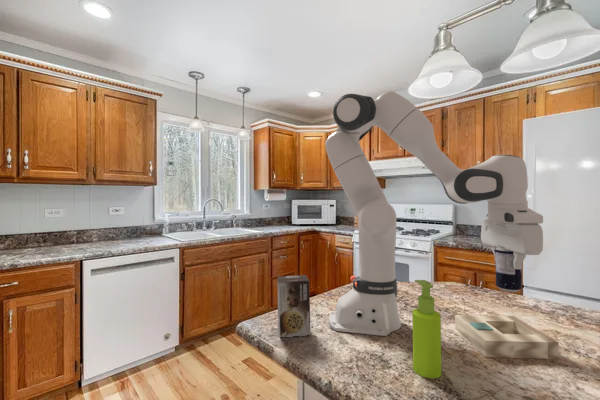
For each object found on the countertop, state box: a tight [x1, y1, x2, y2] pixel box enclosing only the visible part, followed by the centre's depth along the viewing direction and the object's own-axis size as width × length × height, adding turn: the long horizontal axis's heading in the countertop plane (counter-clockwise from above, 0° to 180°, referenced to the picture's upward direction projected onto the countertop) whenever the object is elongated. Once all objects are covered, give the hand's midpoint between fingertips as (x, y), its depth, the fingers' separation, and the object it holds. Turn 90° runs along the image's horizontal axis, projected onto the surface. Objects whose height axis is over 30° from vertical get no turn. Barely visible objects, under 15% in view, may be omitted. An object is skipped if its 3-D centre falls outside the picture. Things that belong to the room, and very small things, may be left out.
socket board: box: [454, 314, 560, 360], centre depth 78 cm, size 17×16×4 cm
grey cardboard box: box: [276, 274, 312, 338], centre depth 85 cm, size 9×6×16 cm
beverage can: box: [494, 245, 523, 293], centre depth 78 cm, size 6×6×12 cm
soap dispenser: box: [412, 279, 442, 379], centre depth 66 cm, size 6×7×20 cm
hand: (507, 265), depth 78 cm, fingers closed on beverage can, 6 cm apart
